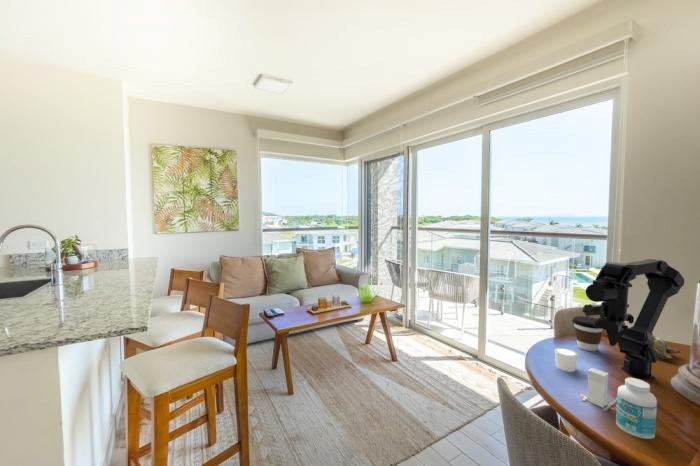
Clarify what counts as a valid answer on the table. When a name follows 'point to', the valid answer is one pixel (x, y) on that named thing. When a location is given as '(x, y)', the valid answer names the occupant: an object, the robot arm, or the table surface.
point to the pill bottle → (636, 409)
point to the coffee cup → (587, 333)
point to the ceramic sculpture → (663, 348)
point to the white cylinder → (566, 359)
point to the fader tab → (597, 387)
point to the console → (606, 406)
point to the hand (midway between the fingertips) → (612, 345)
